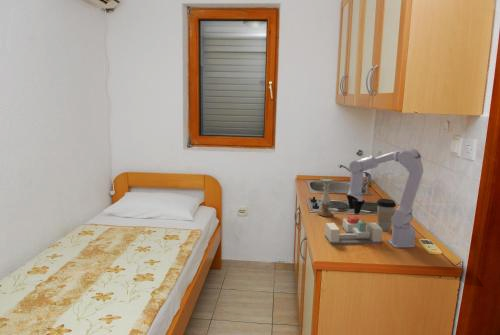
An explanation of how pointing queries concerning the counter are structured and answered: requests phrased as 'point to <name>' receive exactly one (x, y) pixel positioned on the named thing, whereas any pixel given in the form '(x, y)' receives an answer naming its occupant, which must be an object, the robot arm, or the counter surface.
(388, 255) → the counter surface
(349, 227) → the box
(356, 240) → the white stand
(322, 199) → the candle holder
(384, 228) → the coffee cup
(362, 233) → the carriage
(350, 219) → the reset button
